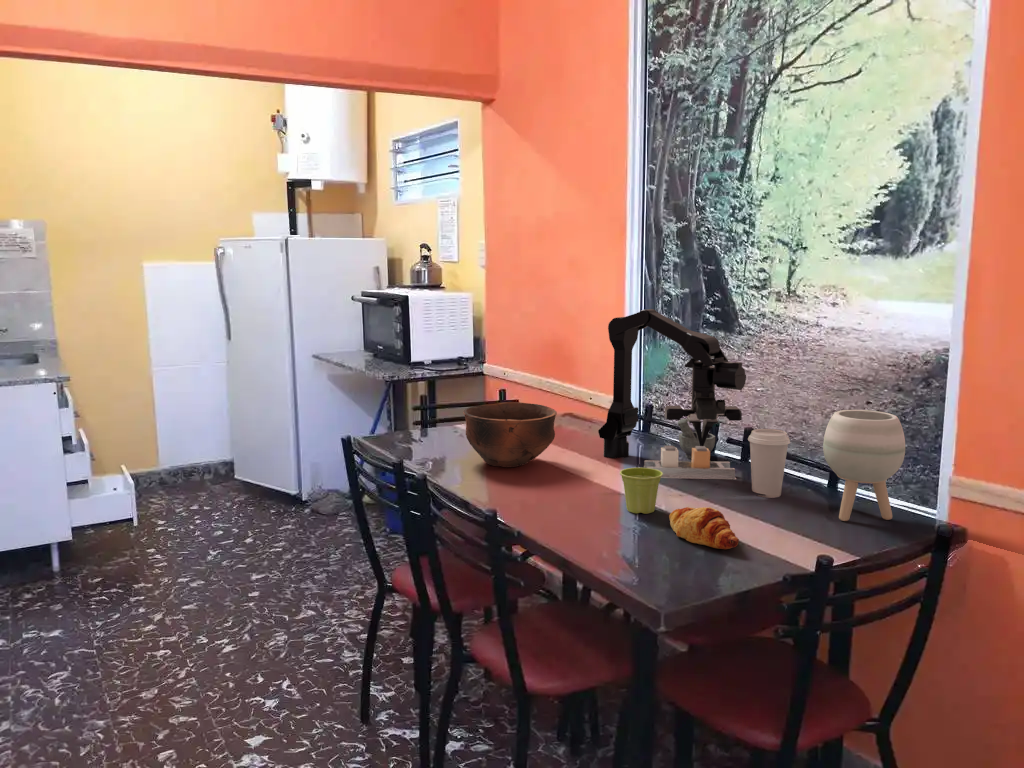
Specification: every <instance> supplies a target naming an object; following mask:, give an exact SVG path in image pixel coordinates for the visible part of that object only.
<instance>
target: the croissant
mask: <svg viewBox="0 0 1024 768" xmlns="http://www.w3.org/2000/svg"><path fill="white" fill-rule="evenodd" d="M668 518H669V521H670V522H669V525H670V527H671V529H672V530H673V532H674V533H676V537H678V538H682V539H683V540H685V541H687V542H689V543H692V544H696V545H697V544H698V545H703V546H707V547H710V548H713V549H717V550H718V549H719V550H729V549H732V548H736V547H737V546H738V544H739V540H740V539H739V538H738V537H737V536H736V534H735V532H734V531H733V530H732V529H731V524H730V523H729V521H728V520H726V518H725V516H724V514H723V513H722V512H721V511H719V509H716V508H713V507H711V506H709V507H706V506H705V507H697V508H696V507H689V506H687V507H683V508H677V509H674V510H673V511H671V512H670V514H669V515H668Z"/></svg>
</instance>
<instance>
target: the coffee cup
mask: <svg viewBox="0 0 1024 768" xmlns="http://www.w3.org/2000/svg"><path fill="white" fill-rule="evenodd" d="M749 434H750V435H748V438H747V440H748V442H749V450H750V451H749V452H750V474H751V475H750V476H751V491H752V492H754V493H756V495H755V496H756V497H760V498H766V499H767V498H769V499H771V498H772V499H773V498H775V499H776V498H780V497H781V495H782V488H783V481H784V473H785V467H786V460H787V452H788V446H789V444H791V441H790V440H791V439H790V437H789V436H788V433H787V432H786V431H784V430H781V429H774V428H755V429H752V430H751V433H749ZM757 494H758V495H757ZM759 494H760V495H759Z"/></svg>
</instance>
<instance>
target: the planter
mask: <svg viewBox="0 0 1024 768" xmlns="http://www.w3.org/2000/svg"><path fill="white" fill-rule="evenodd" d="M822 449H823V451H822V452H823V456H824V459H825V461H826V463H827V465H828V467H829V468H830V469H831V470H832V471H833V472H834V474H835V475H836V476H837V477H838V478H840V479H842V480H845V482H844V487H843V492H842V498H841V502H840V508H839V514H838V519H839V520H840V521H842V522H848V521H850V517H851V514H852V511H853V508H854V504H855V499H856V495H857V491H858V487H859V483H860V484H872V486H873V489H874V494H875V495H874V496H875V497H876V502H877V505H878V508H879V512H880V517H882V519H883V520H886V521H889V520H892V519H893V511H892V508H891V507H892V506H891V504H890V502H891V501H890V499H889V493H888V488H887V483H886V481H888V479H890V478H891V477H892V476H894V475H895V474H897V472H898V471H899V470H900V468H901V467H902V465H903V463H904V460H905V454H906V439H905V433H904V429H903V426H902V424H901V420H900V419H899V418H898V416H897V415H895V414H892V413H889V412H885V411H878V410H869V409H868V410H867V409H843V410H837V411H835V412H834V413H833V414H832V416H831V417H830V418H829V421H828V423H827V426H826V429H825V432H824V436H823V445H822Z"/></svg>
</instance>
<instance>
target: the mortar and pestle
mask: <svg viewBox="0 0 1024 768" xmlns="http://www.w3.org/2000/svg"><path fill="white" fill-rule="evenodd" d="M677 426H679V427H680V430H681V433H679V435H678V440H679V441H678V442H679V446H680V448H681V450H682V452H684V453H685V456H684V457H685V458H687V459H691V460H692V448H695V446H700V445H699V442H698V438H697V435H696V432H695V431H693V430H692V429H691V427H690V425H689V422H688V421H687V418H681V419H680V420H677ZM701 434H702V431H701ZM715 444H716V435H714V434H712V433H710V432H709V433H708V436H707V438H706V441H705V443H704V446H705V447H706V448H708V449H709V451H710V453H711V452H712V451H713V449H714V447H715Z"/></svg>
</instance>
